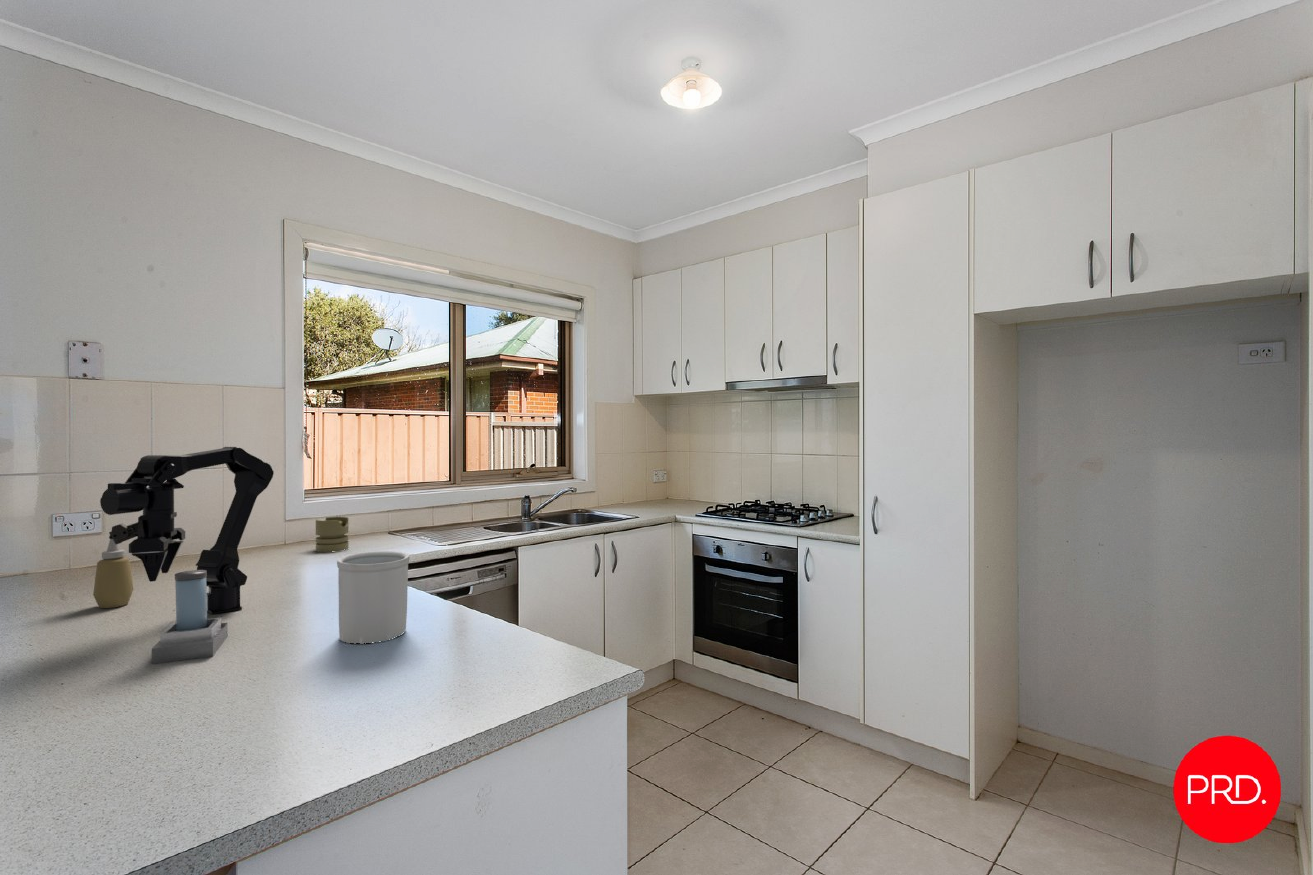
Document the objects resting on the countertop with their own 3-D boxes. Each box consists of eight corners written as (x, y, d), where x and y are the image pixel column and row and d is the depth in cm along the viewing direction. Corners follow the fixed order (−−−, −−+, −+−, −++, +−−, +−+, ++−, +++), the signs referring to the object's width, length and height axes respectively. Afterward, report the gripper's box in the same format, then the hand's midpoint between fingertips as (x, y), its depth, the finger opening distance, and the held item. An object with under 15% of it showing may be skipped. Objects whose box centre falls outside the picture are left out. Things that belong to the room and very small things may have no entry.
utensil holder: (423, 629, 145) (423, 553, 145) (370, 649, 132) (369, 566, 131) (377, 621, 151) (377, 548, 151) (321, 640, 138) (321, 560, 138)
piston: (354, 517, 249) (335, 521, 237) (354, 547, 249) (335, 553, 238) (328, 516, 250) (308, 520, 239) (329, 546, 251) (308, 552, 239)
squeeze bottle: (141, 603, 168) (140, 535, 167) (106, 611, 160) (105, 540, 160) (120, 600, 170) (120, 534, 170) (85, 608, 163) (85, 538, 162)
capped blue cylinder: (179, 632, 133) (178, 571, 133) (210, 628, 136) (209, 568, 135) (172, 640, 128) (171, 577, 128) (204, 636, 131) (203, 574, 130)
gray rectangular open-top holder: (172, 642, 136) (172, 619, 136) (227, 636, 140) (227, 613, 140) (151, 663, 124) (151, 638, 123) (213, 656, 128) (212, 631, 128)
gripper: (128, 506, 151) (129, 572, 151) (98, 516, 134) (98, 589, 134) (185, 504, 155) (186, 568, 155) (162, 513, 138) (163, 584, 138)
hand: (159, 577), depth 145 cm, fingers open, 9 cm apart
